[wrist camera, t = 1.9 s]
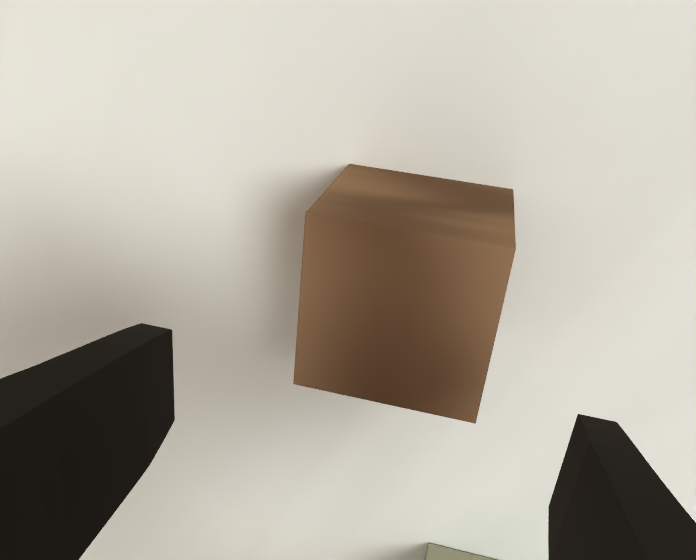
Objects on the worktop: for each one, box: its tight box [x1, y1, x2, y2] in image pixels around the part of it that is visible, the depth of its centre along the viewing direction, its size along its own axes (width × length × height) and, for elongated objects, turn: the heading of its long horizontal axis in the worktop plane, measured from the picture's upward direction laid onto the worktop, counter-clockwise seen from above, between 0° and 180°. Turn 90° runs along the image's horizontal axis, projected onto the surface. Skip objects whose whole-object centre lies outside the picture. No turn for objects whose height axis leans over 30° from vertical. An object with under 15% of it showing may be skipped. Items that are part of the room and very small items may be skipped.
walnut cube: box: [293, 164, 516, 423], centre depth 16 cm, size 4×4×4 cm
